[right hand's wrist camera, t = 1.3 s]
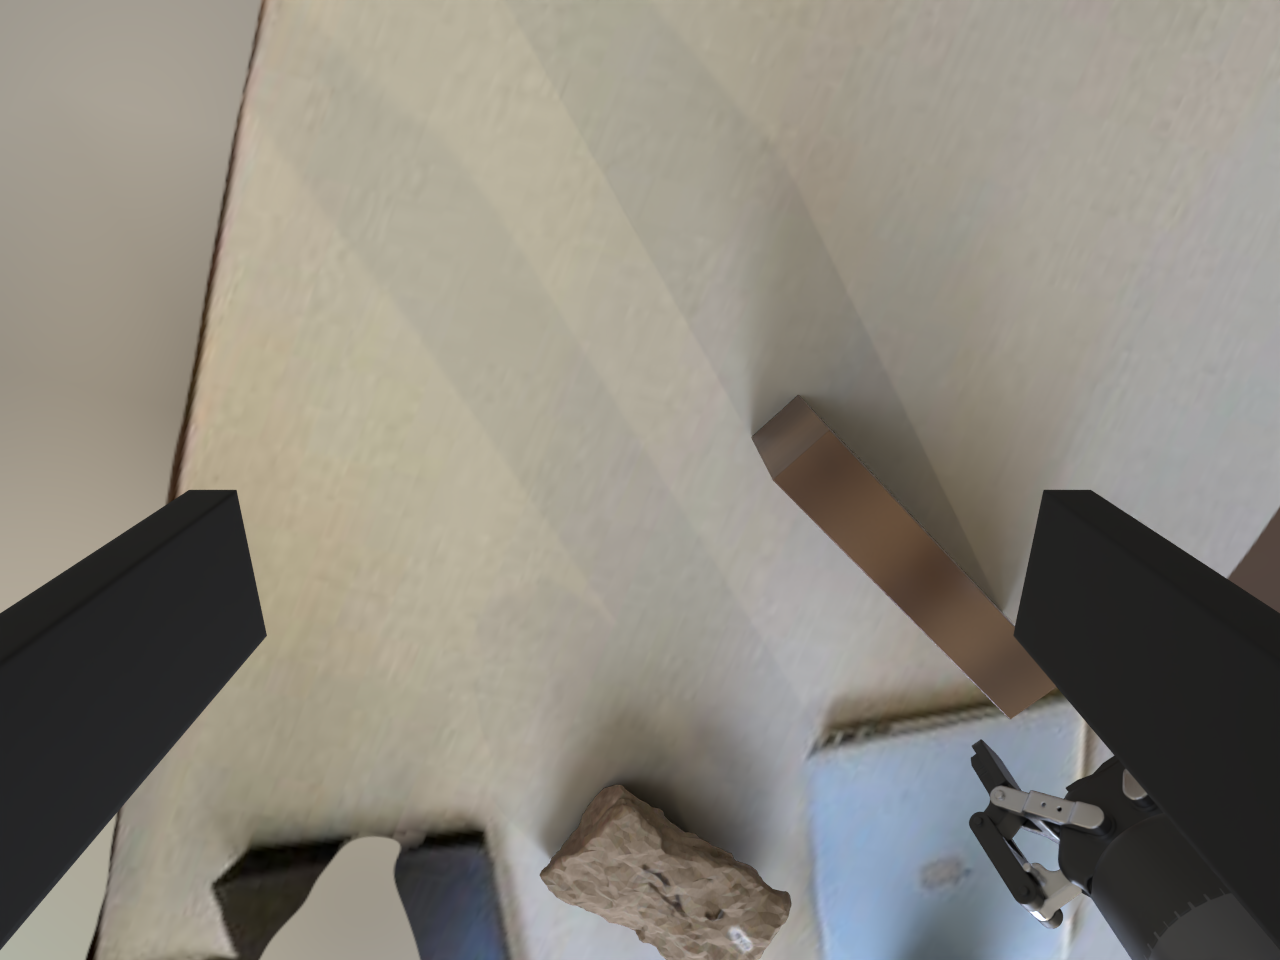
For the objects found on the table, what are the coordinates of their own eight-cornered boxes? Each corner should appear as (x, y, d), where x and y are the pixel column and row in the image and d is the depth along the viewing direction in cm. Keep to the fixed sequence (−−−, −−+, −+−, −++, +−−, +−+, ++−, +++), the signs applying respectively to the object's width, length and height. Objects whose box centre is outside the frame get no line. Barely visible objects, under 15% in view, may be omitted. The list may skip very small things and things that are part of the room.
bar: (750, 437, 53) (772, 480, 45) (798, 394, 52) (829, 429, 44) (957, 648, 60) (1010, 720, 51) (1003, 613, 59) (1065, 681, 50)
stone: (833, 885, 64) (831, 955, 58) (734, 953, 71) (725, 1020, 66) (631, 750, 63) (610, 808, 58) (552, 832, 70) (527, 890, 65)
